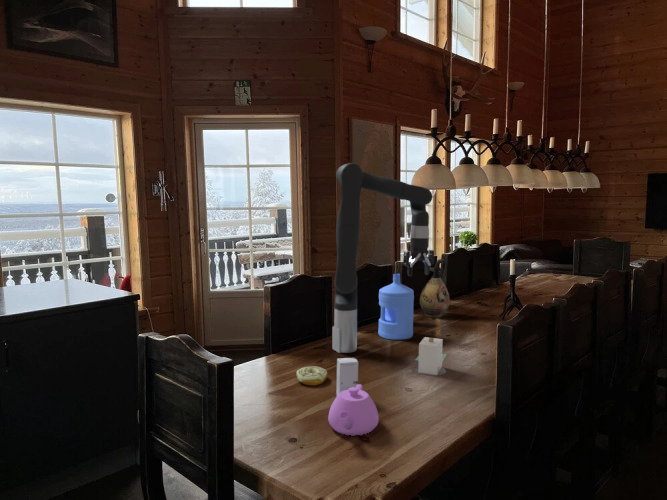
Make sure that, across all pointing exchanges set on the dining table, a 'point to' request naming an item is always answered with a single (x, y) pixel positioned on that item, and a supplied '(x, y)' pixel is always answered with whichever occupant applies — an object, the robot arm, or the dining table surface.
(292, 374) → the dining table surface
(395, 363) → the dining table surface
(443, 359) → the felt mat
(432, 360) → the ceramic cover
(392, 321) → the water jug
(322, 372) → the decorated donut
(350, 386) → the skincare box
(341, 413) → the teapot
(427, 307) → the ceramic jug
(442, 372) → the slate coaster
